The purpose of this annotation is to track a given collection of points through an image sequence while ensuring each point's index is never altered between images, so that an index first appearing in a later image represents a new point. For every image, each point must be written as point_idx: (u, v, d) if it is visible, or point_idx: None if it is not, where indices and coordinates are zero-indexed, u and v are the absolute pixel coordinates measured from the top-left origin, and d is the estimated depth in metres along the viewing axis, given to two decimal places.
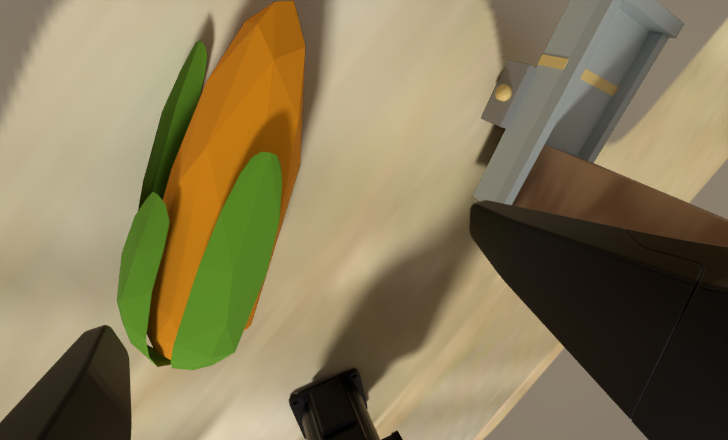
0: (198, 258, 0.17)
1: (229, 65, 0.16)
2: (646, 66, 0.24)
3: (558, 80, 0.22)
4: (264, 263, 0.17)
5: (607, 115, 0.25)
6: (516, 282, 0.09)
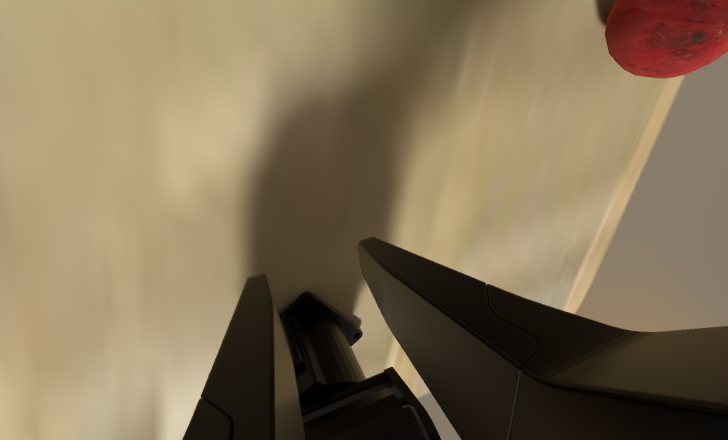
0: None
1: None
2: None
3: None
4: None
5: None
6: (396, 331, 0.09)
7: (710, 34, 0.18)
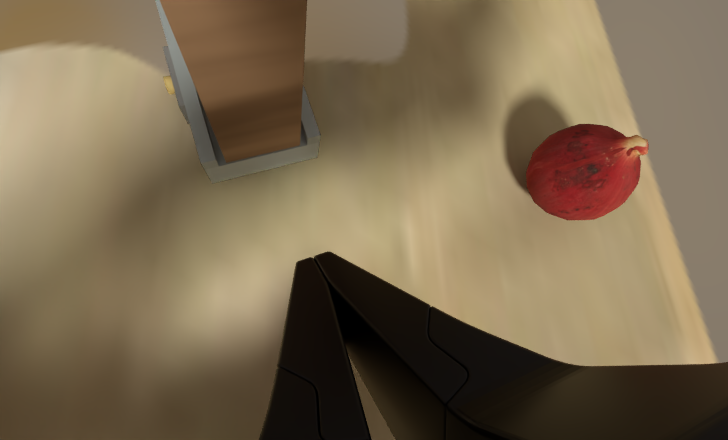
0: None
1: None
2: None
3: None
4: None
5: None
6: (349, 350, 0.08)
7: (600, 162, 0.20)
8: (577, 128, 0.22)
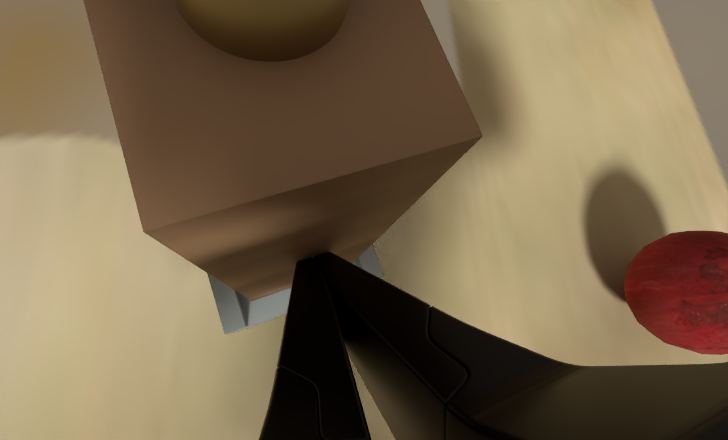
0: None
1: None
2: None
3: None
4: None
5: None
6: (349, 350, 0.08)
7: None
8: (707, 243, 0.17)
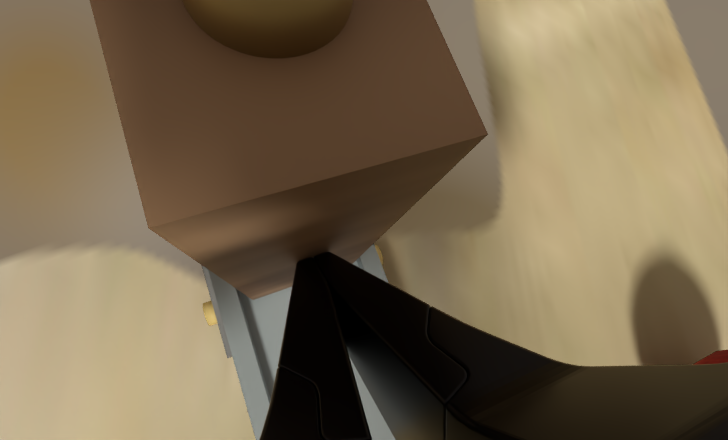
0: None
1: None
2: None
3: None
4: None
5: None
6: (349, 350, 0.08)
7: None
8: None
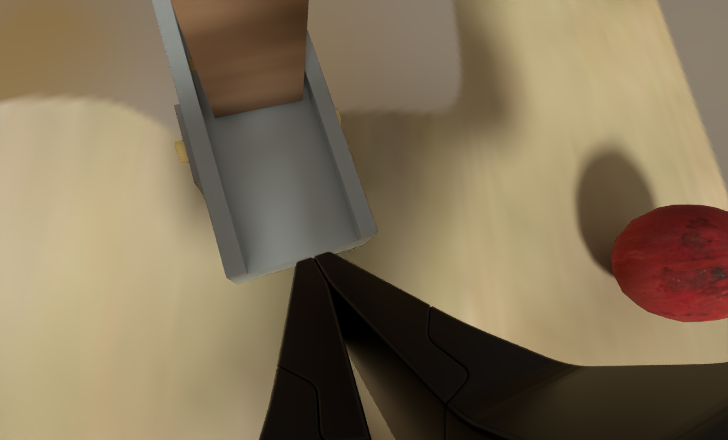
0: None
1: None
2: None
3: None
4: None
5: None
6: (349, 350, 0.08)
7: None
8: (690, 214, 0.18)
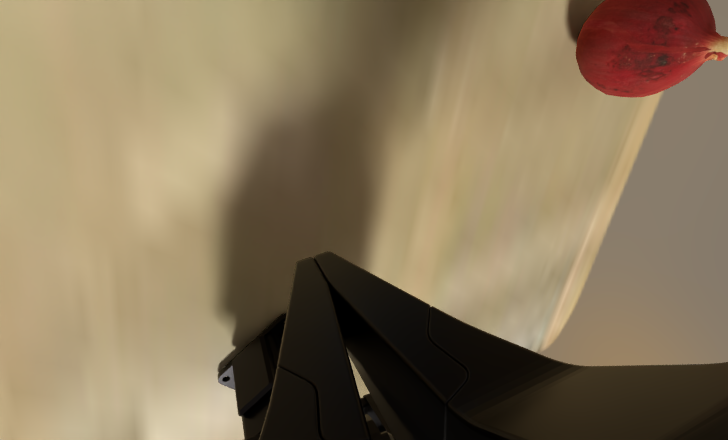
0: None
1: None
2: None
3: None
4: None
5: None
6: (349, 350, 0.08)
7: (675, 56, 0.18)
8: None
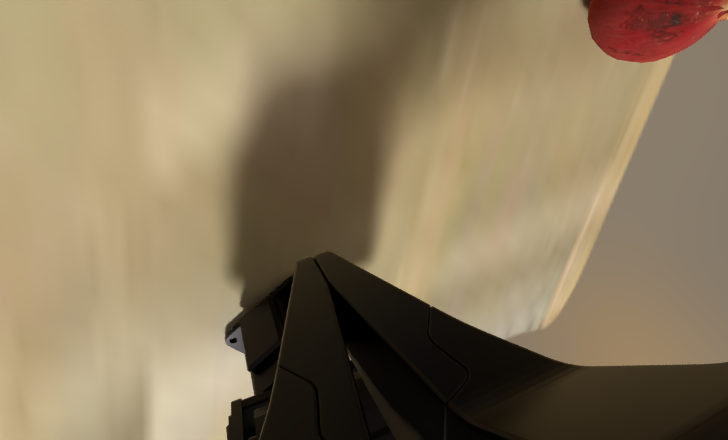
0: None
1: None
2: None
3: None
4: None
5: None
6: (349, 350, 0.08)
7: (688, 15, 0.19)
8: None
